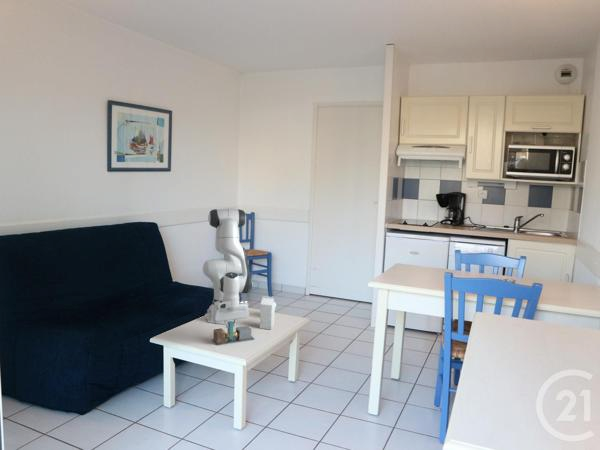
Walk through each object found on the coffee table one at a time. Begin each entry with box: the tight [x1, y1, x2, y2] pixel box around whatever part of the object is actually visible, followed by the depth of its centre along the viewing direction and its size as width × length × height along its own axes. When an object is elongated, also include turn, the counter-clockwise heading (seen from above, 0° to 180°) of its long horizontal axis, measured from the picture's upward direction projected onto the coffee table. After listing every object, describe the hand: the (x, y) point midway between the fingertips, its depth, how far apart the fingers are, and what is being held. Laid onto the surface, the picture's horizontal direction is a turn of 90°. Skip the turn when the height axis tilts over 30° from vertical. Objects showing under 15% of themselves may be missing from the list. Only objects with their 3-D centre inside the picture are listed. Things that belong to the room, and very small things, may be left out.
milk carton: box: [259, 295, 276, 330], centre depth 288 cm, size 7×7×19 cm
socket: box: [212, 328, 226, 343], centre depth 261 cm, size 4×6×6 cm
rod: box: [225, 321, 239, 340], centre depth 265 cm, size 13×4×10 cm, turn 120°
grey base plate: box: [211, 325, 255, 346], centre depth 265 cm, size 22×8×6 cm, turn 120°
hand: (230, 327), depth 263 cm, fingers closed on rod, 2 cm apart
